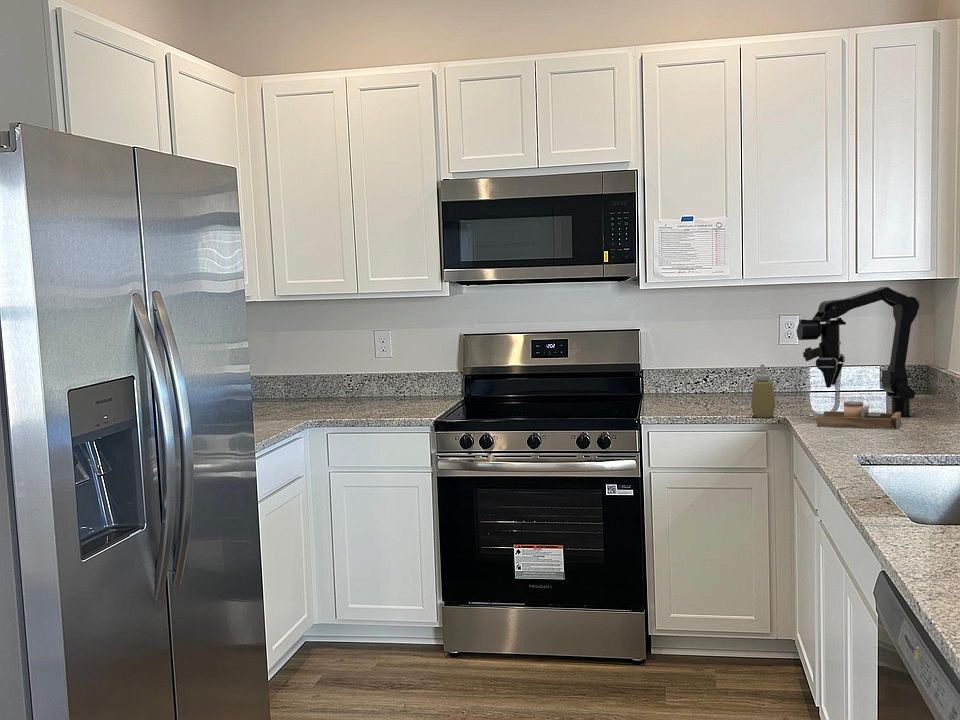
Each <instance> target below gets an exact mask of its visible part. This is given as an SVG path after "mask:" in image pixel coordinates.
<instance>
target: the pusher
mask: <svg viewBox="0 0 960 720" xmlns="http://www.w3.org/2000/svg"><path fill="white" fill-rule="evenodd" d="M869 411H870V407H869V405H865V406H863V409H862V410H861V418H881V414H869V413H870V412H869Z"/></svg>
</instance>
